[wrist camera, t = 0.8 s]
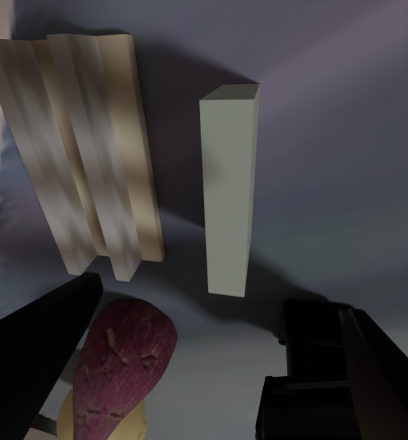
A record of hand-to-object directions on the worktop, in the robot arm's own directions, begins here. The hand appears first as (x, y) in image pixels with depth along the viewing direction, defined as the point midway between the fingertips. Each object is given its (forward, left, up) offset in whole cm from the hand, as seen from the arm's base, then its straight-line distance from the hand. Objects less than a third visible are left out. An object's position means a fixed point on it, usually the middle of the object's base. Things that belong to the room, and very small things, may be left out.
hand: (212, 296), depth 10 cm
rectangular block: (0, 0, -13) cm, 13 cm away
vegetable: (-21, +12, -13) cm, 28 cm away
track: (0, +12, -13) cm, 18 cm away
